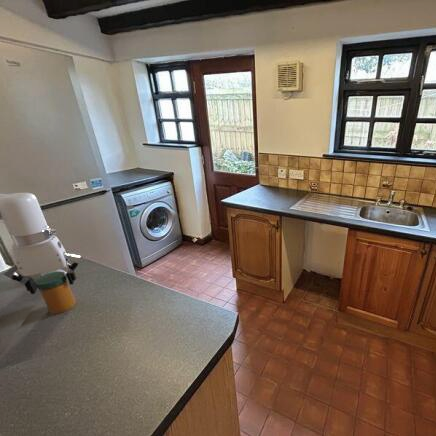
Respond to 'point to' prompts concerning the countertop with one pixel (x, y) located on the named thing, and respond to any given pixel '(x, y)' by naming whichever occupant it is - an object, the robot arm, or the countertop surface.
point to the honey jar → (59, 298)
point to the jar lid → (51, 280)
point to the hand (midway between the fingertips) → (54, 286)
